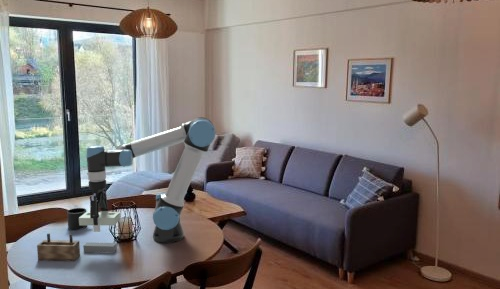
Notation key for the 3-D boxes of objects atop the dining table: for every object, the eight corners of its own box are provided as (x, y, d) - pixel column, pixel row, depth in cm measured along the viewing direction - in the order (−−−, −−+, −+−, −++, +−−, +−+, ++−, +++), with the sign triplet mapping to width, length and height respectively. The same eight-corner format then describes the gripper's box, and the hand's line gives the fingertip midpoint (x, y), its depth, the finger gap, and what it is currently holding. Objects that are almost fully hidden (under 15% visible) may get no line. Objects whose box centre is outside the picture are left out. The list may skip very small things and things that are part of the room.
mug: (87, 230, 223) (87, 213, 221) (65, 229, 223) (64, 213, 221) (94, 224, 232) (93, 208, 230) (72, 223, 232) (71, 207, 230)
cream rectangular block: (120, 219, 199) (119, 210, 198) (114, 225, 191) (113, 215, 190) (86, 219, 199) (85, 210, 199) (79, 225, 191) (78, 215, 191)
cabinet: (80, 255, 191) (78, 233, 190) (74, 261, 186) (73, 238, 184) (44, 254, 192) (43, 232, 190) (38, 260, 186) (36, 237, 184)
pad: (116, 249, 199) (116, 243, 199) (113, 252, 195) (113, 246, 195) (87, 248, 199) (86, 242, 199) (83, 251, 195) (83, 245, 195)
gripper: (97, 174, 202) (100, 220, 206) (79, 185, 182) (83, 236, 185) (113, 174, 202) (116, 220, 206) (96, 185, 182) (100, 236, 185)
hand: (100, 227), depth 196 cm, fingers closed on cream rectangular block, 8 cm apart
